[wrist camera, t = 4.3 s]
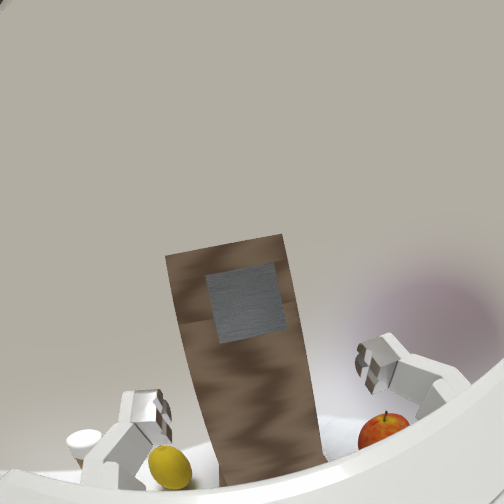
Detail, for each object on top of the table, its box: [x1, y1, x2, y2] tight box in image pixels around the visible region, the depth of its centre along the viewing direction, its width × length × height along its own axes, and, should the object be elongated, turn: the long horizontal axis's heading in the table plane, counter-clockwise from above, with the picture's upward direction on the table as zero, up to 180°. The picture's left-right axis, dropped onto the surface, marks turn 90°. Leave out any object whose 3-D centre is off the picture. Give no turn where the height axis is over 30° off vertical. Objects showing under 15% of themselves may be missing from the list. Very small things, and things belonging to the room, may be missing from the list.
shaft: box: [205, 262, 287, 344], centre depth 24 cm, size 3×24×3 cm, turn 7°
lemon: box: [148, 446, 192, 490], centre depth 27 cm, size 6×6×8 cm
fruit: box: [358, 411, 410, 450], centre depth 25 cm, size 7×7×8 cm
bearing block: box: [165, 234, 328, 487], centre depth 26 cm, size 14×14×30 cm
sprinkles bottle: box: [67, 430, 103, 469], centre depth 19 cm, size 5×5×13 cm
